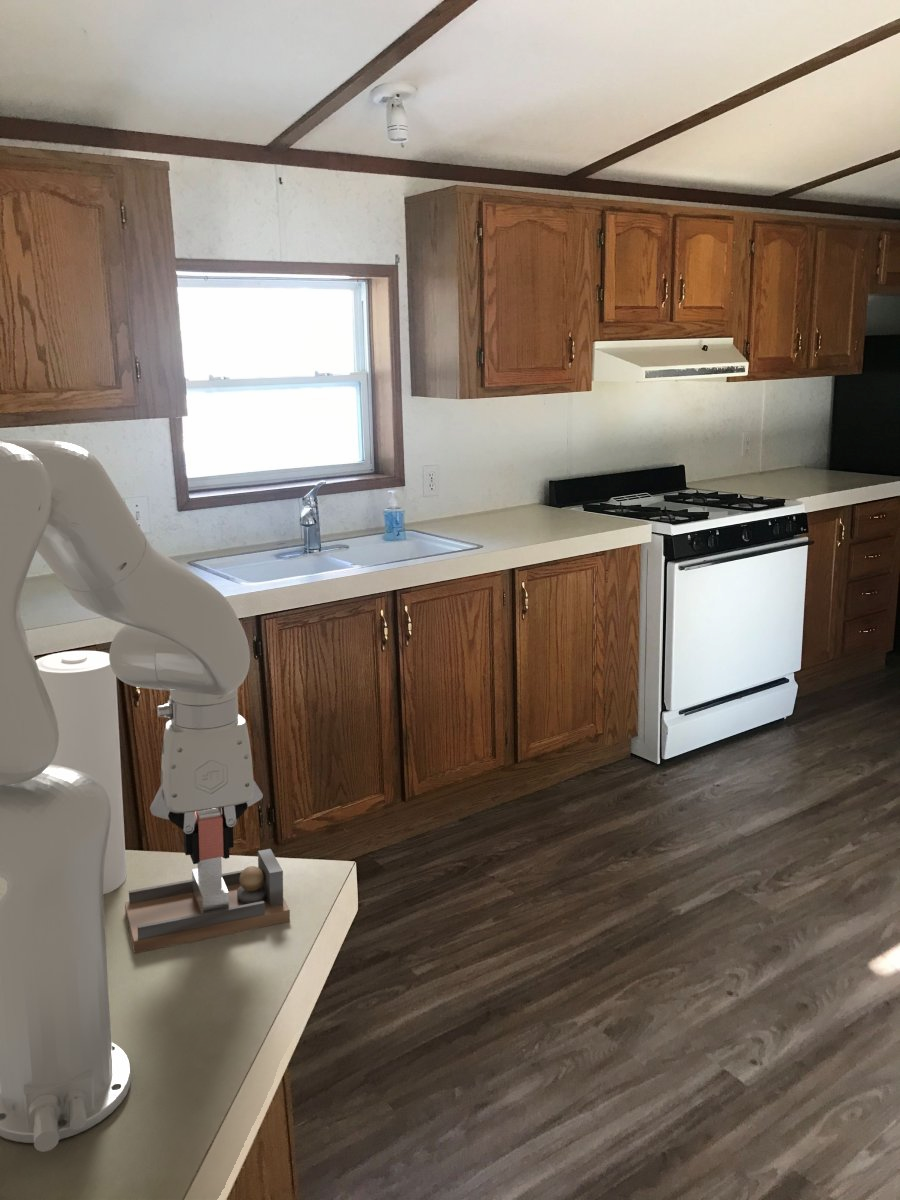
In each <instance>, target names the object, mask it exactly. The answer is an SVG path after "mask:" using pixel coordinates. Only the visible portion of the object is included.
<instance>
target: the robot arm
mask: <svg viewBox="0 0 900 1200" xmlns="http://www.w3.org/2000/svg"><path fill="white" fill-rule="evenodd" d="M36 552H37V553H38V554H39V555H40V556H41V557H42V559H43V560H44V562H45V563H46V564H47V565H48V567H49V568H50V569H51V571H52V572H53V573H54V574H55V576H56V577H57V578H58V580H59V581H60V583H61V584H62V585H63V587H64V588H65V589H66V590H67V592H68V594H69V595H70V596H71V597H72V599H73V600H74V601H75V602H76V603H78V605H80V606H81V607H83V608H84V609H86V610H88V611H90V612H93V613H95V614H97V615H100V616H101V617H104V618H106V619H109V620H112V621H114V622H117V623H119V624H123V625H124V626H122V627H121V628H120V629H119V631H117V633H116V634H115V636H114V637H113V639H112V641H111V643H110V647H109V652H108V653H109V661H110V666H111V668H112V670H113V672H114V674H115V675H116V678H117V679H118V680H120V681H121V682H123V683H124V684H126V685H128V686H132V687H135V688H139V689H140V688H141V689H142V688H143V689H147V690H148V689H149V690H159V691H169V693H170V695H169V696H168V697H169V699H168V700H167V703H164V704H163V705H157V716H158V718H165V719H166V718H168V719H169V720H168V721H166V723H165V727H164V734H163V739H162V749H161V768H160V769H161V770H160V782H161V783H160V786H159V788H158V790H157V792H156V794H155V797H154V798H153V801H152V802H151V805H150V807H149V810H150V812H151V815H152V816H154V817H156V818H160V819H163V820H169V821H170V822H171V823H173V825H176V826H177V827H178V828H180V829H181V830H182V831H183V850H184V854H185V856H190V859H191V861H192V864H193V865H198V862H200V860H199V835H198V831H197V829H196V825H195V811H202V810H208V809H215V808H218V809H219V808H220V810H221V811H220V813H221V815H222V818H223V853H224V856H223V857H222V858H223V859H225V860H227V859H229V858H230V849H231V848H234V843H235V842H234V826H236V825H237V820H239V818H240V817H241V816H242V815H243V814H244V813H245V812H246V810H247V809H248V808H249V807H251V806H253V805H254V804H256V803H257V802H259V801H261V800H262V799H263V797H264V794H263V793H262V791H261V789H260V787H259V785H258V783H256V781H255V779H254V772H253V771H254V769H253V758H252V751H251V750H252V749H251V748H252V747H251V742H250V741H251V740H250V736H249V730H248V726H247V722H246V719H245V718H244V717H243V716H242V715H240V714H239V702H238V697H239V695H238V689H239V687H240V686H242V684H243V683H244V681H245V680H246V677H247V676H248V673H249V671H250V666H251V665H250V663H251V650H250V645H249V641H248V637H247V635H246V632H245V629H244V627H243V625H242V623H241V622H240V620H239V617H238V615H237V614H236V612H235V610H234V608H233V606H232V604H230V602H229V601H228V600H227V598H226V597H225V596H224V595H223V593H221V592H220V591H219V590H218V589H216V588H215V587H214V586H213V585H212V584H211V583H208V581H206V580H204V579H203V578H202V577H200V576H199V575H197V574H195V573H193V572H192V571H190V570H189V569H188V568H186V567H185V566H183V565H182V564H180V563H178V562H177V561H175V560H174V559H172V558H170V557H168V556H167V555H165V554H163V553H161V552H159V551H158V550H157V549H155V548H154V547H153V546H152V545H151V544H150V542H149V541H148V539H147V537H146V535H145V534H144V532H143V529H141V527H140V526H139V524H138V522H137V521H136V519H135V516H133V514H132V512H131V510H130V509H129V507H128V506H127V504H126V502H125V500H124V499H123V497H122V496H121V493H120V492H119V491H118V489H117V487H116V485H115V484H114V482H113V480H112V479H111V478H110V476H109V474H108V473H107V470H106V469H105V468H104V467H103V465H102V464H101V462H100V461H99V460H98V459H97V457H96V456H94V455H93V453H91V452H90V451H88V450H87V449H85V448H84V447H81V446H79V445H76V444H73V443H70V442H66V441H59V440H51V439H50V440H49V439H30V438H29V439H27V438H9V437H8V438H5V437H4V438H3V437H1V438H0V878H2V879H3V880H5V881H6V885H7V887H6V891H5V893H4V894H3V895H2V897H1V898H0V1137H1V1138H3V1139H6V1140H10V1141H12V1142H17V1143H27V1144H33V1146H34V1148H35V1149H36V1150H37V1152H38V1151H39V1152H42V1153H44V1152H50V1151H51V1150H53V1149H54V1148H56V1146H57V1145H58V1144H59V1140H63V1139H65V1138H69V1137H72V1136H76V1135H78V1134H80V1133H82V1132H85V1131H87V1130H88V1129H91V1128H92V1127H94V1126H96V1125H97V1124H99V1123H100V1122H102V1121H103V1120H105V1118H107V1117H108V1116H109V1115H111V1114H112V1113H113V1112H114V1111H115V1110H116V1109H117V1107H119V1106H120V1104H121V1103H122V1102H123V1100H124V1099H125V1098H126V1096H127V1094H128V1092H129V1089H130V1086H131V1081H132V1066H131V1062H130V1059H129V1056H128V1055H127V1053H126V1052H125V1050H124V1049H122V1048H121V1047H120V1046H118V1045H117V1044H116V1043H114V1042H113V1041H112V1025H111V1011H110V1010H111V1007H110V992H109V976H108V975H109V973H108V960H107V959H108V957H107V943H106V941H107V940H106V924H105V907H104V906H105V905H104V895H103V877H104V863H105V855H106V848H107V842H108V835H109V829H110V820H111V807H110V801H109V798H108V795H107V793H106V791H105V789H104V788H103V787H102V785H101V784H100V783H99V782H98V781H97V780H95V779H94V778H92V777H91V776H89V775H87V774H85V773H83V772H81V771H78V770H75V769H71V768H68V767H63V766H58V765H51V762H52V761H53V759H54V757H55V755H56V752H57V748H58V743H59V730H58V723H57V719H56V715H55V712H54V709H53V706H52V703H51V700H50V697H49V695H48V692H47V689H46V687H45V684H44V681H43V679H42V676H41V674H40V671H39V668H38V666H37V663H36V658H35V656H34V653H33V650H32V648H31V647H32V646H31V645H30V642H29V640H28V637H27V633H26V631H25V630H26V629H25V627H24V623H23V620H22V614H21V601H22V593H23V590H24V586H25V582H26V578H27V576H28V573H29V571H30V567H31V564H32V562H33V559H34V557H35V555H36Z"/></svg>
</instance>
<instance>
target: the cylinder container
mask: <svg viewBox="0 0 900 1200" xmlns="http://www.w3.org/2000/svg"><path fill="white" fill-rule="evenodd" d="M35 661H36V663H37V666H38V668H39V671H40V674H41V676H42V679H43V681H44V684H45V687H46V689H47V692H48V695H49V697H50V700H51V703H52V706H53V709H54V712H55V715H56V719H57V723H58V730H59V743H58V748H57V752H56V755H55V757H54V759H53V761H52V762H51V765H58V766H63V767H68V768H71V769H75V770H78V771H81V772H83V773H85V774H87V775H89V776H91V777H92V778H94V779H95V780H97V781H98V782H99V783H100V784H101V785H102V787H103V788H104V789H105V791H106V793H107V795H108V798H109V801H110V807H111V820H110V829H109V835H108V842H107V848H106V855H105V863H104V877H103V896H104V895H106V894H109V893H111V892H113V891H114V890H116V889H118V888H120V887H121V886H122V884H124V883H125V881H126V879H127V860H126V842H125V823H124V822H125V821H124V819H125V818H124V804H123V802H124V801H123V784H122V782H123V781H122V768H121V767H122V766H121V765H122V764H121V748H120V747H121V745H120V729H119V726H120V725H119V709H118V708H119V706H118V690H117V676H116V675H115V674H114V672H113V670H112V668H111V666H110V661H109V652H105V651H98V650H70V651H62V652H57V653H51V654H47V655H44V656H42V657H39V658H37V659H35Z"/></svg>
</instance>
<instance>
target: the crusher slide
mask: <svg viewBox="0 0 900 1200" xmlns="http://www.w3.org/2000/svg"><path fill="white" fill-rule="evenodd" d="M195 825H196V829H197V831H198V835H199V860H200V862H198V864H197V868H193V869H192V870H191V877H192V880H193V893H194V896H195V899H196V901H197V904H198V907H199V910H200V912H201V913H204V912H210V911H215V910H220V909H225V908H229V892H228V890H227V888H226V885H225V883H224V881H223V878H222V874H223V872H222V871H223V870H222V867H223V866H222V865H223V864H222V858H223V856H224V853H223V818H222V812H221V811H220V810H219V808H215V809H208V810H202V811H195Z"/></svg>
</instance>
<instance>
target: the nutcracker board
mask: <svg viewBox="0 0 900 1200" xmlns="http://www.w3.org/2000/svg"><path fill="white" fill-rule="evenodd" d="M222 878H223V881H224V883H225V885H226V888H227V890H228V892H229V908H225V909H220V910H215V911H210V912H204V913H201V912H200V910H199V907H198V904H197V901H196V899H195V896H194V893H193V880H192V879H186V880H182V881H175V882H169V883H165V884H159V885H153V886H149V887H148V886H147V887H143V888H142V887H141V888H138V889H131V890H128V898H129V900H128V901H125V902H124V908H125V909H124V910H125V912H124V913H125V918H126V921H127V926H128V930H129V935H130V939H131V943H132V947H133V951H134V954H137V953H138V954H139V953H143V952H147V951H152V950H158V949H162V948H166V947H172V946H176V945H182V944H186V943H190V942H191V943H192V942H195V941H196V942H197V941H201V940H205V939H211V938H216V937H219V936H220V937H221V936H225V935H228V934H229V935H230V934H234V933H238V932H244V931H249V930H254V929H258V928H262V927H267V926H272V925H278V924H282V923H287V922H290V921H291V919H290V918H291V916H290V915H291V912H290V911H291V909H290V908H289V906H288V904H287V902H286V900H285V899H284V871H283V868H282V867H281V865H280V862H279V861H278V860H277V858H276V856H275V853H273V851H272V849H271V848H267V849H262V850H257V866H254V865H252V866H248V867H247V866H246V867H245V868H244V869H242V870H236V871H230V872H225V873H222Z"/></svg>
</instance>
